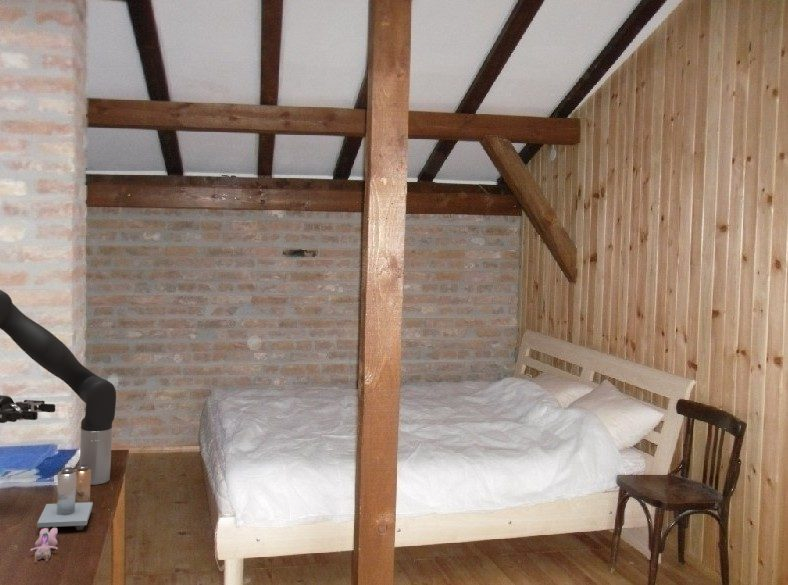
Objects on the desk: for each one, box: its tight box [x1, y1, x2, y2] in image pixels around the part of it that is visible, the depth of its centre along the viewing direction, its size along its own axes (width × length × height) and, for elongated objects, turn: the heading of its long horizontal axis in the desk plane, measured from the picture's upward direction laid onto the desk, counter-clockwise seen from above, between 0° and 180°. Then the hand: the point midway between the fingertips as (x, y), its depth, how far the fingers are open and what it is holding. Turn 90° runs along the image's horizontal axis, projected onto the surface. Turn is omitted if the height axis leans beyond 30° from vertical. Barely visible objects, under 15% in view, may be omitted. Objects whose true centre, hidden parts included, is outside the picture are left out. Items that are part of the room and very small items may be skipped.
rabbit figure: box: [29, 527, 59, 564], centre depth 179 cm, size 6×6×15 cm
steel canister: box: [56, 466, 76, 515], centre depth 196 cm, size 5×5×12 cm
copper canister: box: [73, 464, 91, 503], centre depth 209 cm, size 5×5×12 cm
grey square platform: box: [36, 501, 94, 531], centre depth 197 cm, size 14×12×3 cm
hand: (46, 412), depth 199 cm, fingers open, 8 cm apart
